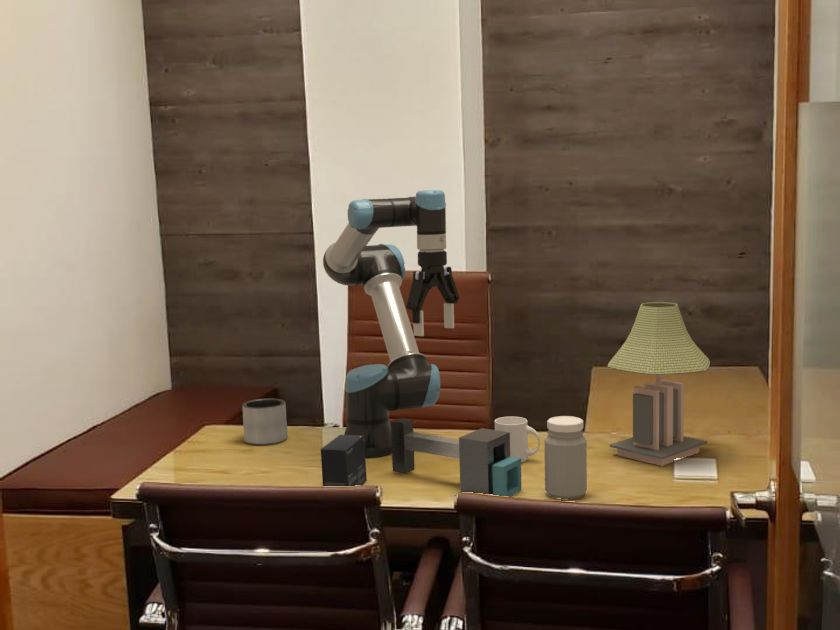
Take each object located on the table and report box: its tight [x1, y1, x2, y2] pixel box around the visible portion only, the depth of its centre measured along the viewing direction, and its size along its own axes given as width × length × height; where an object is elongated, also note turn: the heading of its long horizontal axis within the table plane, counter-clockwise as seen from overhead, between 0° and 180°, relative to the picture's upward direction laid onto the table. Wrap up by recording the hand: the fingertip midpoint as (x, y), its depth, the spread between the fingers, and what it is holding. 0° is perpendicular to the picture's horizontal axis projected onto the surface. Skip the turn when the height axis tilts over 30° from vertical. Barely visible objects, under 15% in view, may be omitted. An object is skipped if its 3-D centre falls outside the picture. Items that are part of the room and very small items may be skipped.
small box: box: [320, 434, 368, 487], centre depth 251 cm, size 13×7×12 cm, turn 163°
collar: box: [492, 457, 522, 497], centre depth 243 cm, size 3×8×8 cm, turn 144°
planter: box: [242, 397, 288, 446], centre depth 297 cm, size 12×13×11 cm
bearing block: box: [458, 427, 510, 494], centre depth 246 cm, size 8×10×14 cm
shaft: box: [390, 417, 460, 475], centre depth 254 cm, size 28×4×13 cm, turn 54°
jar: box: [543, 415, 588, 500], centre depth 241 cm, size 10×10×18 cm
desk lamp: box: [607, 301, 711, 467], centre depth 270 cm, size 26×28×40 cm
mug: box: [494, 416, 541, 464], centre depth 270 cm, size 9×12×11 cm
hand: (434, 331), depth 267 cm, fingers open, 13 cm apart
